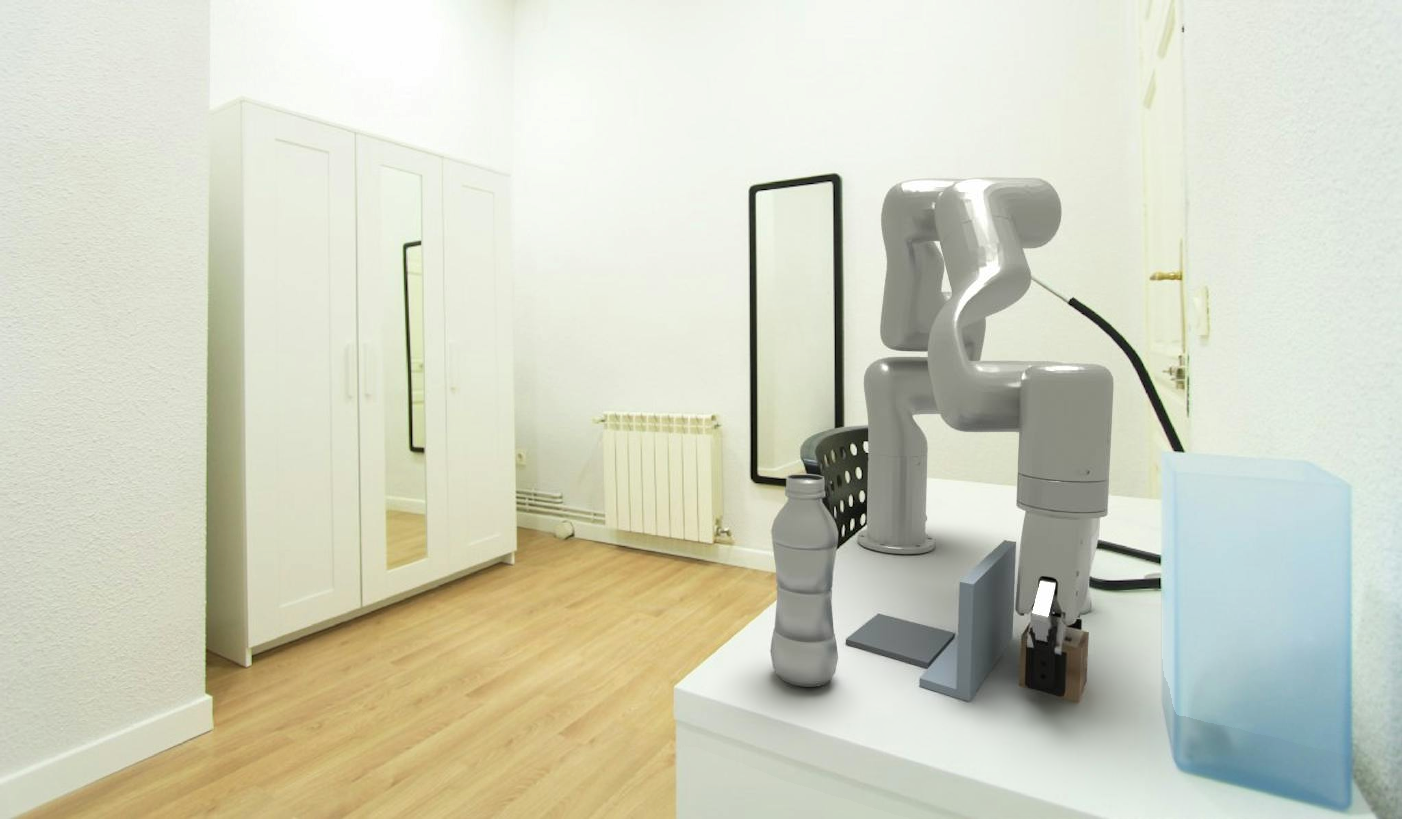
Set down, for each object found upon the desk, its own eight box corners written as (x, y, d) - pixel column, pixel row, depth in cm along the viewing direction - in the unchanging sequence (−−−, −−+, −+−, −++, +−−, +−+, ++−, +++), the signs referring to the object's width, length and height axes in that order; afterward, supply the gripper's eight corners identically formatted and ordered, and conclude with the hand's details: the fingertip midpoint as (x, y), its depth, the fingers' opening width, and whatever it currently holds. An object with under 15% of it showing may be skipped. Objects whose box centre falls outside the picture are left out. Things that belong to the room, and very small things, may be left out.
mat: (878, 618, 77) (878, 613, 77) (954, 637, 71) (955, 632, 71) (845, 644, 70) (845, 638, 70) (928, 668, 64) (928, 662, 64)
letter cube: (1029, 666, 65) (1031, 616, 65) (1086, 681, 62) (1089, 629, 62) (1018, 686, 61) (1021, 632, 61) (1078, 703, 58) (1081, 647, 58)
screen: (969, 627, 74) (972, 534, 73) (1012, 637, 71) (1016, 541, 71) (919, 685, 61) (922, 573, 60) (969, 701, 58) (973, 584, 57)
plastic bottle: (797, 702, 58) (799, 486, 56) (757, 670, 64) (758, 474, 62) (852, 686, 61) (855, 480, 59) (808, 656, 67) (811, 469, 65)
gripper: (1035, 476, 69) (1029, 631, 71) (995, 505, 56) (988, 696, 57) (1117, 484, 65) (1109, 650, 66) (1095, 518, 51) (1086, 726, 52)
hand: (1053, 671), depth 61 cm, fingers open, 8 cm apart
